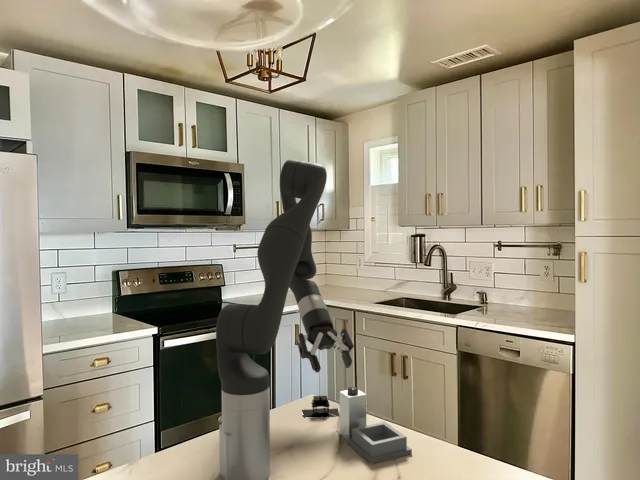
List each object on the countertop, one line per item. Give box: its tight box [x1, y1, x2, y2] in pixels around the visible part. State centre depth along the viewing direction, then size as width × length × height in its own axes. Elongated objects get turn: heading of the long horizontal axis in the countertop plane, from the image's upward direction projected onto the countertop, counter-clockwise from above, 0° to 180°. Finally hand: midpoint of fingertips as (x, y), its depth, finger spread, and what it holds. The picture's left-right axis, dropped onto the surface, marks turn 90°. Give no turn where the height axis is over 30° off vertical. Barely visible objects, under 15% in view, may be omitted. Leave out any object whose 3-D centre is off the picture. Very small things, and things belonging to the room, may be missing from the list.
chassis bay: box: [347, 421, 413, 465], centre depth 100 cm, size 10×10×4 cm
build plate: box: [301, 395, 340, 419], centre depth 120 cm, size 12×7×5 cm, turn 94°
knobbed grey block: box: [339, 386, 367, 441], centre depth 107 cm, size 4×4×11 cm
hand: (334, 368), depth 115 cm, fingers open, 8 cm apart
